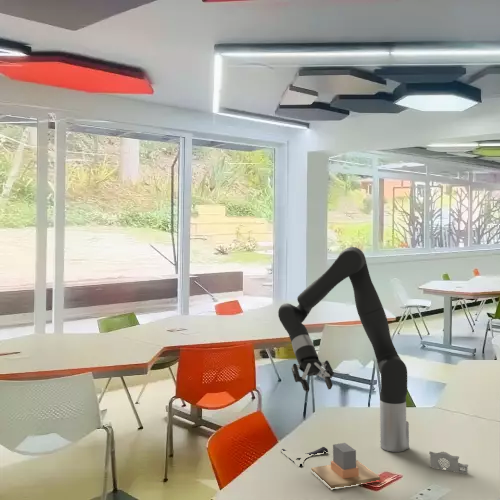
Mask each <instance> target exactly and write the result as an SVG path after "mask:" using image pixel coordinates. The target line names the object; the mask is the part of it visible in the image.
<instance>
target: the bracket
mask: <svg viewBox="0 0 500 500" xmlns="http://www.w3.org/2000/svg"><path fill="white" fill-rule="evenodd" d="M281 450H283V451H287V450H286V449H284V448H282V449H281ZM325 451H326V452H328V453H329V450H328V448H327V447H326V446H322V447H320V448H318V449H315V450H313V451H310V452H308V453H306V454H309V455H311V454H317V453H323V452H325Z"/></svg>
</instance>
